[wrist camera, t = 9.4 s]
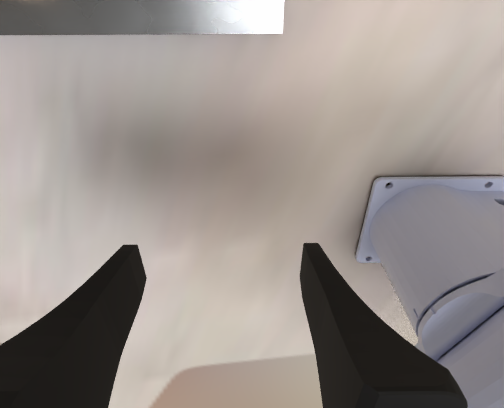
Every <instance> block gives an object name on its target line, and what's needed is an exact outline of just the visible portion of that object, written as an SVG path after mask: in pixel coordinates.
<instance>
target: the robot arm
mask: <svg viewBox="0 0 504 408" xmlns="http://www.w3.org/2000/svg"><path fill="white" fill-rule="evenodd" d="M390 182H391V184H390V185H388V186H386V184H387V183H390ZM488 182H489V183H488ZM486 183H488V184H486ZM485 184H486V185H485ZM369 256H370V257H369ZM366 257H368V258H366ZM355 258H356V260H357V262H359V263H382V265H383V267H384V269H385V271H386V273H387V275H388V278H389V280H390V282H391V284H392V286H393V288H394V290H395V292H396V294H397V296H398V298H399V300H400V302H401V304H402V306H403V308H404V310H405V312H406V314H407V316H408V318H409V320H410V323H411V325H412V327H413V329H414V331H415V333H416V335H417V337H418V343H417V344H416V346H413V345H412V344H411V343H409V342H408V341H407V340H405V339H404V338H403V337H402V336H400V335H399V334H398V333H397V332H396V331H394V330H393V329H392V328H391V327H390V326H388V325H387V324H386V323H385V322H384V321H383V320H382V319H380V318H379V317H378V316H377V315H376V314H375V313H374V312H373V311H372V310H371V309H370V308H369V307H368V306H367V305H366V304H365V303H364V302H363V301H362V300H361V299H360V298H359V296H358V295H357V294H356V293H355V292H354V291H353V290H352V288H351V287H350V286H349V285H348V284H347V282H346V281H345V280H344V279H343V277H342V276H341V275H340V274H339V272H338V271H337V270H336V268H335V267H334V266H333V264H332V263H331V261H330V260H329V258H328V257H327V255H326V254H325V252H324V251H323V249H322V248H321V246H320V245H319V244H318V243H304V245H303V254H302V262H301V271H300V282H301V291H302V298H303V303H304V307H305V311H306V315H307V319H308V323H309V328H310V332H311V336H312V340H313V344H314V349H315V354H316V360H317V367H318V373H319V381H320V388H321V396H322V403H323V408H504V176H456V177H379V178H377V179H376V180H375V181H374V183H373V187H372V191H371V195H370V199H369V203H368V207H367V211H366V215H365V219H364V223H363V227H362V231H361V235H360V239H359V244H358V248H357V252H356V256H355ZM145 283H146V274H145V270H144V267H143V263H142V259H141V256H140V252H139V249H138V245H123V246H122V247H121V248H120V249H119V250H118V251H117V252H116V253H115V254H114V255H113V256H112V257H111V258H110V259H109V260H108V261H107V262H106V263H105V264H104V265H103V266H102V267H101V268H100V269H99V270H98V271H97V272H96V273H94V274H93V275H92V276H91V277H90V278H89V279H88V280H87V281H86V282H85V283H84V284H83V285H82V286H81V287H79V288H78V289H77V290H76V291H75V292H74V293H73V294H72V295H70V296H69V297H68V298H67V299H66V300H65V301H63V302H62V303H61V304H60V305H58V306H57V307H56V308H54V309H53V310H52V311H50V312H49V313H48V314H47V315H45V316H44V317H42V318H41V319H40V320H38V321H37V322H35V323H34V324H32V325H31V326H29V327H28V328H26V329H25V330H23V331H22V332H20V333H19V334H18V335H16V336H14V337H13V338H11V339H10V340H8V341H6V342H5V343H3V344H1V345H0V408H108V405H109V401H110V397H111V393H112V389H113V384H114V380H115V377H116V373H117V369H118V365H119V361H120V358H121V355H122V352H123V349H124V346H125V343H126V340H127V338H128V335H129V332H130V330H131V327H132V324H133V322H134V319H135V316H136V314H137V311H138V308H139V305H140V303H141V300H142V296H143V292H144V287H145Z"/></svg>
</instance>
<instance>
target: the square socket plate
mask: <svg viewBox="0 0 504 408" xmlns="http://www.w3.org/2000/svg"><path fill="white" fill-rule="evenodd" d="M283 16H284V0H0V35H110V34H283Z"/></svg>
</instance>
